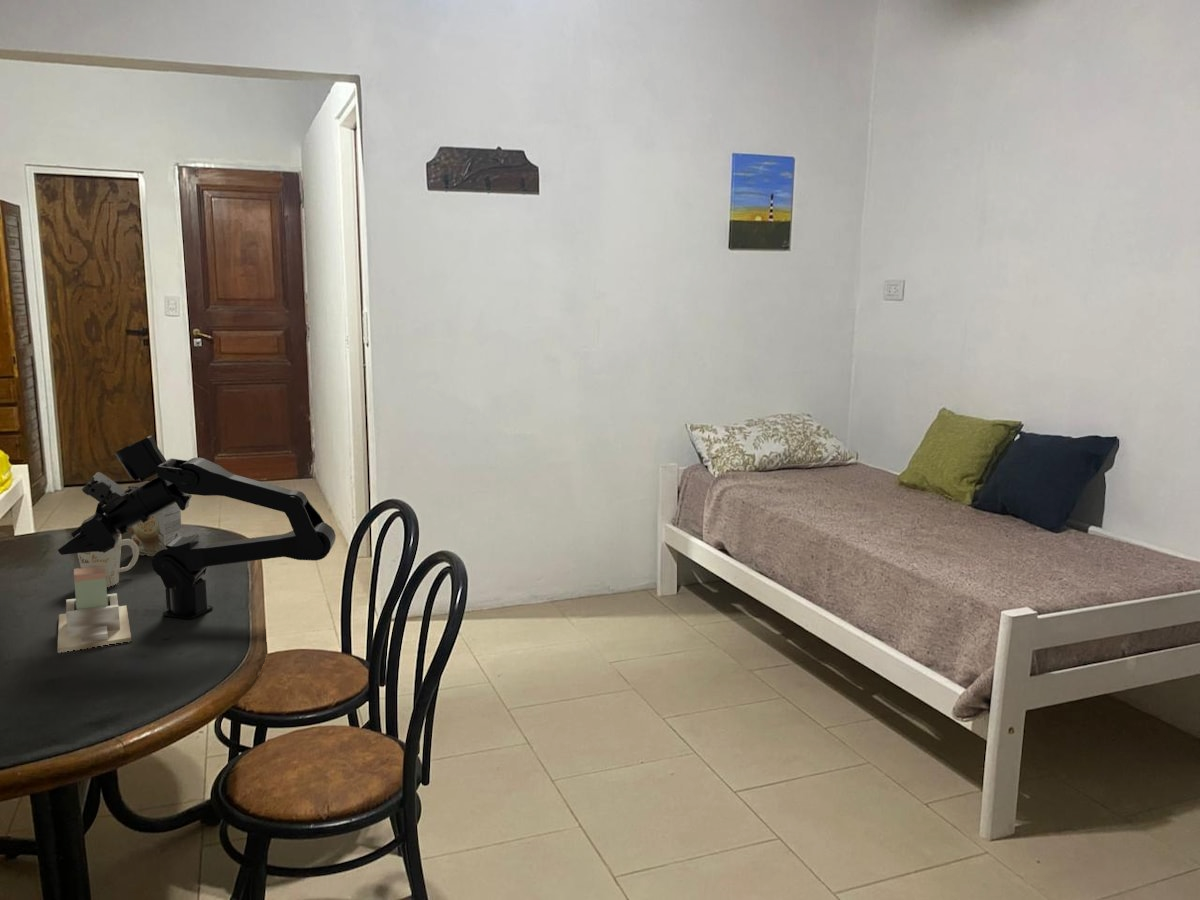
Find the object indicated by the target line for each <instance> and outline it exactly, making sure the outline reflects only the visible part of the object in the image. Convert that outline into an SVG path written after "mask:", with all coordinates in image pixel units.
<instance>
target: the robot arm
mask: <svg viewBox="0 0 1200 900" xmlns="http://www.w3.org/2000/svg"><path fill="white" fill-rule="evenodd" d="M114 455H115V456H116V458H117V460H118V461H119V462H120V464H121V465H122V467H123V468H124V470H125V471H126V473H127V475H128V476H129V478H130V479H131V480H134V481H137V480H138V481H139V483H141V482H144V481H146V479H149V478H150V477H152V476H154V475H156V474H157V475H158V476H157V477H155V478H152V479H150V480H148V481H149V482H147V483H145V484H143V485H142V486H140V487H138V488H136V489H135V487H134V488H132V487H131V488H129V489H128V488H127V489H124V488H123V487H122V486H120V485H119V484H118V483H117V482H116V481H114V480H113V479H111V478H110V477H109V476H107V475H105V474H104V473H102V472H99V471H97V472H96V473H95V474H94V475H93V476H92V477H91V478H90V480H88V482H87V483H86V484H85V485H84V486H83V487H82V489H81V490H82V492H83V493H84V494H85V495H87V496H89V497H92V498H93V499H95V500H96V501H97V502H98V503H97V505H96V509H95V513H94V514H93V515H90V516H89V517H88V518H86V519H84V520H83V521H82V523H81V525H79V526H78V527H77V528H76V529H75V530H73V531H72V532H71V533H70V535H71V536H72V538H70V540H68V541H67V542H66V543H64V544H63V545H62V546H60V548H58V549H57V551H58V553H59V554H60V555H61V556H63V555H72V554H77V553H84V552H103V553H105V552H107V551H109V550H110V549H112V548H114V547H115V545H116V544H117V542H118V539H119V534H121V535H124V534H126V533H127V532H128V531H129V529H131V527H132V526H134V525H136V524H138V523H139V522H141V521H142V522H143V523H144V522H146V521H148V520H149V518H150V517H151V516H152V515H154V514H156V513H158V512H160V511H162V510H164V509H165V508H167V507H169V506H171V505H173V504H175V503H177V505H178V506H179V508H180V511H181V512H182V511H185V510H186V509H187V508H188V507H189V505H190V504H189V503H190V500H191V498H192V495H195V496H205V497H206V496H207V497H209V496H210V497H211V496H212V497H213V496H214V497H215V496H218V497H219V496H220V497H226V498H229V499H234V500H237V501H240V502H244V503H248V504H252V505H256V506H260V507H264V508H266V509H271V510H275V511H278V512H282V513H284V514H285V515H286V517H287V519H288V521H289V524H290V527H291V529H292V530H290V531H289V532H286V533H282V534H273V535H264V536H257V537H250V538H241V539H233V540H225V541H218V542H204V541H200V537H199V534H198V533H197V534H192V535H189V536H182V537H181V536H177V537H176V538H175V539H174V540H172V541H171V542H169V543H168V544H167V545H165V546H164V547H163V548H162V549H161V550H159V551H158V552H157V553H156V554H155V555H154V557H153V556H152V560H151V566H152V569H153V571H154V573H155V574H156V575H158V576H159V577H160V579H161V580H162V583H163V585H164V587H165V603H166V609H167V610H165V611H163V612H162V613H161V614H162V615H161V616H163V617H170V618H178V619H185V620H193V619H195V618H196V617H198V616H200V615H203V614H205V613H207V612H208V611H211V610H214V606H213V605H209V604H208V600H207V580H206V579H203V578H202V577H203V576H204V575H206V574H207V573H206V572H207V570H208V567H213V566H220V565H222V566H223V565H228V564H237V563H243V562H253V561H261V560H269V559H276V558H287V559H293V560H297V561H320V560H323V559H325V558H326V557H327V555H328V554H329V553H330V552H331V549H332V548H333V546H334V544H335V541H336V538H337V537H336V536H337V535H336V533H335V530H334V528H333V527H332V526H331V525H329V524H328V523H327V522H325V521H324V519H323V518H322V516H321V515H320V513H319V512H318V510H316V508H315V507H314V506H313V505H312V504H311V502H310V501H309V499H308V498H307V496H306V494H305V493H304V492H302V491H300V490H292V489H289V488H285V487H282V486H278V485H275V484H271V483H267V482H263V481H260V480H256V479H252V478H249V477H245V476H241V475H238V474H235V473H233V472H230V471H229V470H226V469H225V468H224V467H222V466H221V465H219V464H218V463H215V462H213V461H210V460H208V459H206V458H203V457H198V456H197V457H193V458H191V459H188V460H187V459H177V458H169V459H166V458H165V456H164V455H163V454H162V451H161V450H160V449H159V447H158V446H157V443H156V441H155V439H154V437H153V436H152V435H149V436H147V437H144V438H143V439H141V440H138V441H135V442H133V443H131V444H129V445H127V446H125V447H123V448H121V449H120V450H118V451H116V452H114ZM118 530H119V532H118ZM118 533H119V534H118Z"/></svg>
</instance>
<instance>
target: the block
mask: <svg viewBox="0 0 1200 900" xmlns="http://www.w3.org/2000/svg"><path fill="white" fill-rule="evenodd" d="M73 581H74V593H75V598H76V607H77V610H82V609H89V608H97V607H104V606H108V600H107V594H108V590H107V587H106V574H105V565H103V566H94V567H85V568H81V567H77V568H74V569H73Z"/></svg>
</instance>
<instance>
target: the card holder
mask: <svg viewBox="0 0 1200 900" xmlns="http://www.w3.org/2000/svg"><path fill="white" fill-rule="evenodd" d="M65 600H66V601H65V602H66V603H65V613H60V614H58V629H57V632H58V633H57V653H58V654H61V652H62V653H68V652H67V651H69V652H73V650H75V651H80V649H82V650H87V648H88V649H93V648H92V647H95V648H98V647H97V646H101V647H104V646H103V645H108V646H110V645H109V644H115V645H117V644H116V643H121V644H124V643H123V642H128V643H131V642H132V634H131V629H130V628H131V627H130V621H129V614H128V608H127V604H126V605H119V601H118V593H116V592H115V593H107V600H108V606H104V607H97V608H89V609H82V610H77V607H76V597H75V598H69V599H65ZM130 641H131V642H130Z"/></svg>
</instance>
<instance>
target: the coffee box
mask: <svg viewBox="0 0 1200 900" xmlns="http://www.w3.org/2000/svg"><path fill="white" fill-rule="evenodd" d="M149 481H150V480H143V481H141V482H138V483H135V484H131V485H128V486H127V489H129V488H131V487H132V488H134V487H135V489H136V488H138V487H140V486H142V485H143V484H145V483H147V482H149ZM181 512H182V510H181V509H180V508H179V506H178V505H177V503H175V504H173V505H171V506H169V507H167V508H165V509H164V510H162V511H160V512H158V513H156V514H154V515H152V516H151V517H150V518H149V520H148V521H146V522H144V523H143V522H142V521H141V522H139V523H138V524H136V525H134V526H132V527H130V536H131V537H130V538H131V540H133V541H134V542H135V543H136V544H137V546H138V549H139V556H144V555H147V556H146V557H153V556H154V555H155V554H156V553H157V552H158V551H159V550H161V549H162V548H163V547H164V546H165V545H167V544H168V543H169V542H171V541H172V540H174V539H175V538H176V537H177V536H181V537H183V534H182V533H183V532H182V516H181V515H182V513H181ZM131 554H132V555H133V550H132V549H131Z"/></svg>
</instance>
